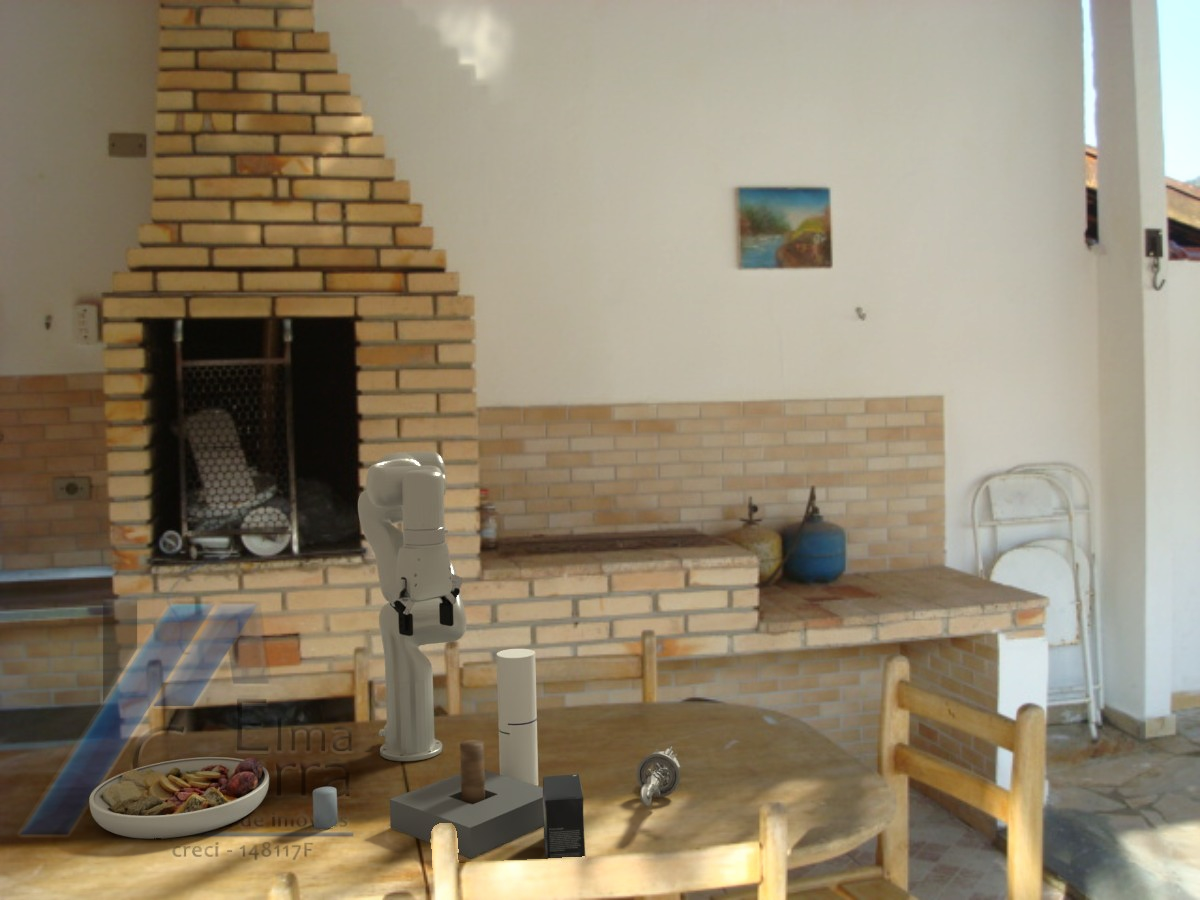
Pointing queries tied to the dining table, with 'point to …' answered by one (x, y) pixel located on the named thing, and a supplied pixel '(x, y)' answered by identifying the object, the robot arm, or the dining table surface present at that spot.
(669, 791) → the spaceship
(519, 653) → the cylindrical container
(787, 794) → the dining table surface
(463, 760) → the long pin
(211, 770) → the bowl
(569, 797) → the small box
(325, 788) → the short pin
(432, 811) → the collar block
